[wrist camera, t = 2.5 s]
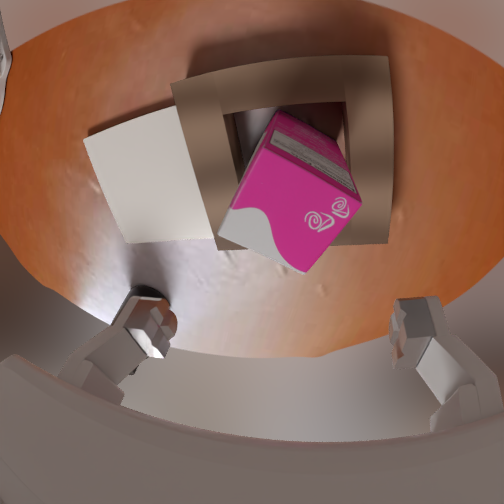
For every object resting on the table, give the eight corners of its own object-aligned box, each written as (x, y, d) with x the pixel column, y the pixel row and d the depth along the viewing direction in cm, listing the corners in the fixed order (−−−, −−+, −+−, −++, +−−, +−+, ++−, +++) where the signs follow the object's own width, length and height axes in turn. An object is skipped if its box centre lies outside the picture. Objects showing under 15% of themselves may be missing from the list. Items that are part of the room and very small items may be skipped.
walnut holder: (185, 80, 20) (169, 83, 17) (377, 57, 16) (387, 56, 13) (225, 233, 29) (218, 250, 27) (381, 225, 25) (387, 243, 23)
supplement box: (305, 192, 25) (302, 280, 16) (248, 161, 24) (208, 234, 15) (340, 141, 21) (366, 205, 12) (278, 106, 20) (255, 141, 11)
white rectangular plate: (87, 137, 24) (83, 139, 23) (180, 103, 21) (176, 105, 20) (129, 240, 32) (126, 243, 32) (216, 233, 29) (214, 237, 29)
